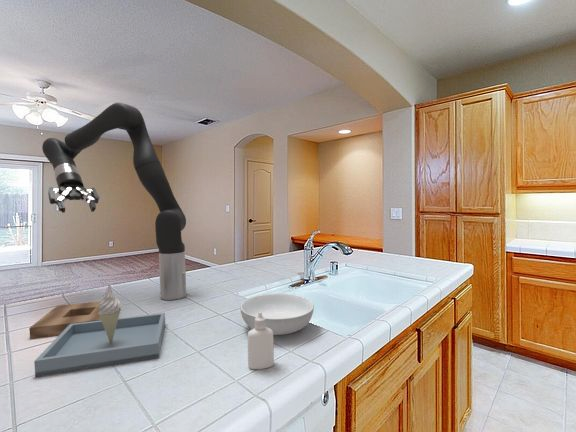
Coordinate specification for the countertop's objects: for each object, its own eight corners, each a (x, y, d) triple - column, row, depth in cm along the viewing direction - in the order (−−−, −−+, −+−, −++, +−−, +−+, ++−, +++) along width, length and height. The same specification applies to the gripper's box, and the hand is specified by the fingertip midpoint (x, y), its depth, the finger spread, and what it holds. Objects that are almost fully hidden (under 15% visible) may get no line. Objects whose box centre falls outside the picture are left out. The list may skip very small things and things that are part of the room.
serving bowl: (289, 352, 73) (289, 324, 73) (225, 333, 84) (224, 309, 84) (326, 322, 91) (325, 299, 90) (268, 309, 102) (268, 289, 101)
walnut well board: (119, 308, 104) (119, 299, 104) (105, 329, 87) (105, 319, 87) (57, 314, 99) (57, 305, 99) (30, 338, 82) (29, 327, 81)
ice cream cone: (112, 347, 74) (109, 287, 73) (94, 346, 75) (91, 286, 74) (126, 338, 79) (124, 281, 78) (110, 336, 80) (107, 280, 79)
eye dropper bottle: (253, 358, 70) (252, 307, 70) (276, 362, 69) (275, 310, 68) (245, 368, 66) (244, 314, 66) (269, 372, 65) (268, 317, 64)
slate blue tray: (165, 324, 90) (164, 312, 90) (158, 357, 71) (158, 343, 71) (70, 336, 83) (70, 323, 83) (35, 377, 64) (34, 361, 64)
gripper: (45, 169, 104) (54, 203, 97) (92, 172, 114) (104, 202, 107) (42, 185, 108) (51, 219, 101) (89, 186, 118) (100, 216, 111)
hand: (79, 210), depth 104 cm, fingers open, 8 cm apart
